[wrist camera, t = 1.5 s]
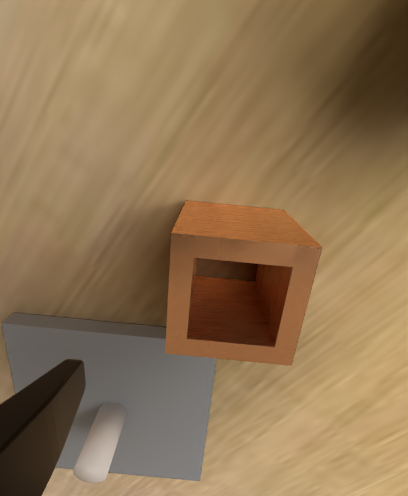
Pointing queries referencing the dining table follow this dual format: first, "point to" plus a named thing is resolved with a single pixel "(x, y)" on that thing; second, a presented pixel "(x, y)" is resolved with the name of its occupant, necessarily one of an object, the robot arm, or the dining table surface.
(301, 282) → the hollow wooden cube
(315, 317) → the dining table surface
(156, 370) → the stand
